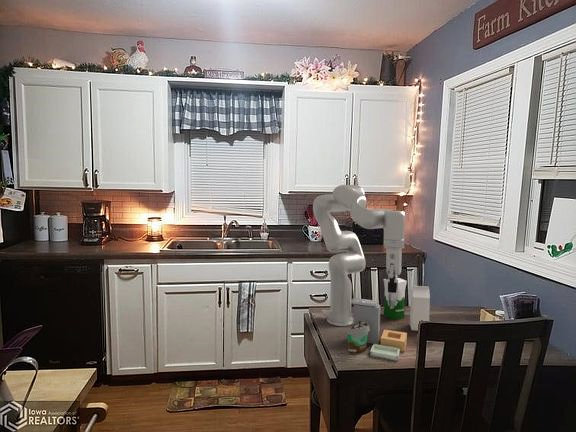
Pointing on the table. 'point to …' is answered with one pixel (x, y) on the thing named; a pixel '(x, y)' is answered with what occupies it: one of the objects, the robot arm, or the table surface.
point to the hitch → (378, 327)
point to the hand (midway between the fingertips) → (392, 290)
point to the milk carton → (419, 305)
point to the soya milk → (398, 310)
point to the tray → (385, 352)
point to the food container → (358, 337)
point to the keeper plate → (364, 302)
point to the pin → (392, 296)
